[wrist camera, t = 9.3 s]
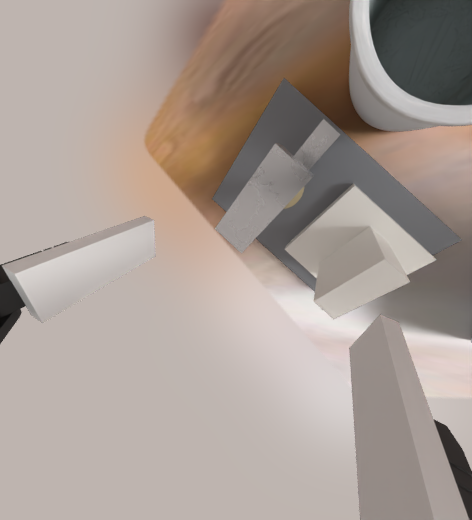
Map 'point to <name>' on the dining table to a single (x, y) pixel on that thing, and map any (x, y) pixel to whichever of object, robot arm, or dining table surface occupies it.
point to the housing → (323, 180)
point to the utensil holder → (411, 63)
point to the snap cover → (356, 253)
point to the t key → (273, 187)
